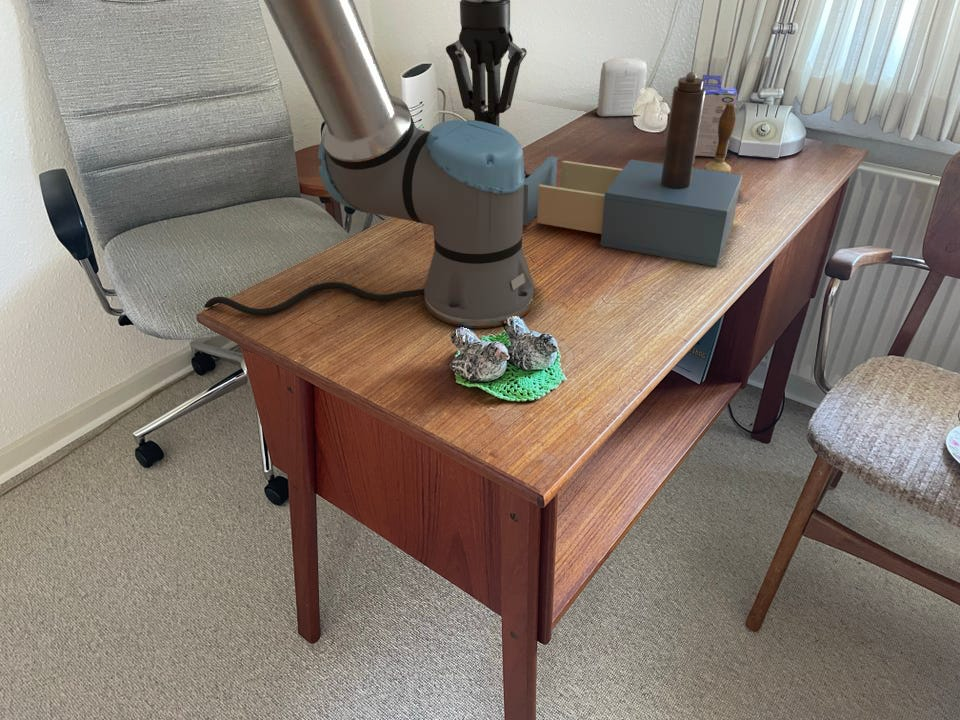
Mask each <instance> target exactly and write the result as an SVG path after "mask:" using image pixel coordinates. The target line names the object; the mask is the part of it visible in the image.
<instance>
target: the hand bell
mask: <svg viewBox="0 0 960 720" xmlns="http://www.w3.org/2000/svg"><path fill="white" fill-rule="evenodd" d="M736 115H737V114H736V105H735V104H733V103H727V105H726V107H725V109H724V111H723V113H722V115H721V117H720V120H719V126H718V137H719V141H718V146H717V150H716V154H715V157H713V161H709V162H707V163H706V164H704V167H703V169H704V170H711V171H718V172H726V173H732V167H731V166H730V164H728V163H726V162H725V158H726V157H727V154H725V153H726V150H727V151H728V148H727V144H728V145H729V143H728V141H729V142H730V139H731V136H732V135H733V132H734V129H735V126H736V121H737V119H736V118H737V117H736ZM725 156H726V157H725Z"/></svg>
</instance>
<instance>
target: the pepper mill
mask: <svg viewBox="0 0 960 720" xmlns="http://www.w3.org/2000/svg"><path fill="white" fill-rule="evenodd" d="M702 86H703V80H702V78H699V77H697V74H696V73H695V72H694V71H689V72H688V73H687V74H686V76H685V77H684V76H683V77H680V78H679V79H677V85H676V86H674V87H673V90H672V96H671V98H672V99H671V103H670V105H671V106H670V112H669V120H668V126H667V133H666V134H667V135H666V140H665V143H666V144H665V149H664V156H663V162H662V164H663V170H662V178H661V184H662V185H663V186H665V187H668V188H673V189H683V188H687V187H689V186H690V184H691V178H692V172H693V168H694V164H695V159H696V156H695V153H696V147H697V141H698V134H699V128H700V122H701V116H702V109H703V103H704V97H705V91H706V90H705V89H704V88H703V87H702Z"/></svg>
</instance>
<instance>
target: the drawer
mask: <svg viewBox="0 0 960 720" xmlns="http://www.w3.org/2000/svg"><path fill="white" fill-rule="evenodd" d="M557 165H558V156H557V155H550V156H548V157H547V158H546V159H545V160H544V161H543V162H542V163H541V164H540V165H539V166H538V167H537V168H536V169H535V170H534V171H532V172H531V173H527V171H526V170H524V171H525V181H524V197H523V226H528V225H529V224H530V223H531V222H532V221H533V220H534V219H535V217H537V221H536V223H537V224H540V225H541V224H542V225H548V226H553V227H559V228H563V229H564V228H565V229H570V230H577V231H583V232H588V233H592V234H598V235H599V234H600V235H601V233H602V222H603V210H604V199H605V192H606V191H607V190H608V188H609V187H610V186H611V184H612V183H613V182H614V181H615V179H616V178H617V177H618V175H619V174H620V173H621V172H622V170H623V169H624V168H619V167H611V166H604V165H600V164H599V165H598V164H590V163H585V162H584V163H583V162H576V161H568V160H562V161H561V169H560V170H561V171H560V187H559V186H557Z"/></svg>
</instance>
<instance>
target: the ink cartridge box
mask: <svg viewBox="0 0 960 720" xmlns="http://www.w3.org/2000/svg"><path fill="white" fill-rule="evenodd" d="M722 77H723V76H722V75H711V74H710V75H709V74H703V75H702V78H701V79H702V80H703V86H702V87H703V88H704V89H705V90H706V91H705V97H704V103H703V109H702V116H701V122H700V128H699V134H698V141H697V147H696V153H695V157H712V158H715V154H716V150H717V146H718V141H719V137H718V126H719V120H720V117H721V115H722V113H723V111H724V109H725V107H726V105H727V103H733V104H735V106H736V104H737V100H738V99H737V98H738V93H737V89H736V87H722V80H723V79H722ZM709 80H715V81H717V82H716V83H712V82H711V83H710V82H709V83H708V82H705V81H709ZM729 143H730V140H729V141H728V144H727V150H726V153H725V154H726V156H725V158H726V157H727V152H728V148H729Z"/></svg>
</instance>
